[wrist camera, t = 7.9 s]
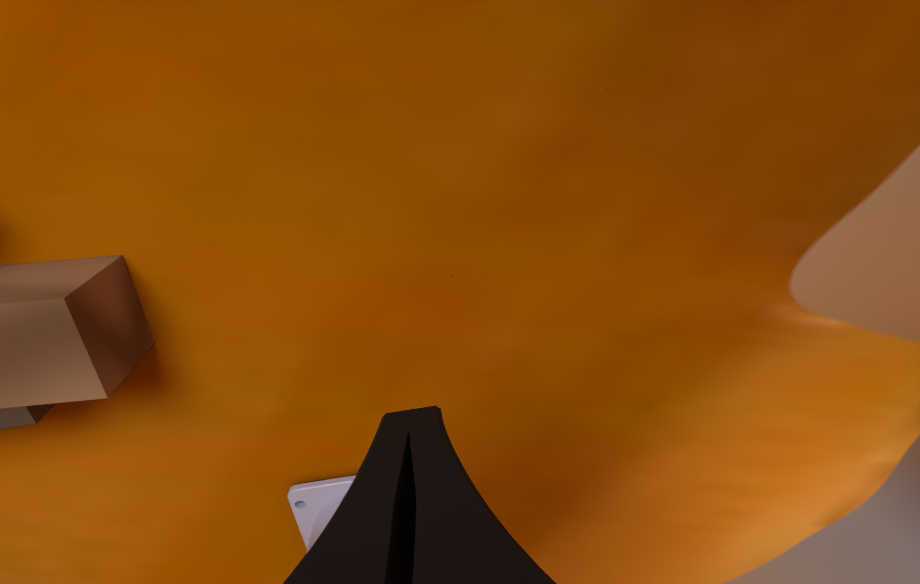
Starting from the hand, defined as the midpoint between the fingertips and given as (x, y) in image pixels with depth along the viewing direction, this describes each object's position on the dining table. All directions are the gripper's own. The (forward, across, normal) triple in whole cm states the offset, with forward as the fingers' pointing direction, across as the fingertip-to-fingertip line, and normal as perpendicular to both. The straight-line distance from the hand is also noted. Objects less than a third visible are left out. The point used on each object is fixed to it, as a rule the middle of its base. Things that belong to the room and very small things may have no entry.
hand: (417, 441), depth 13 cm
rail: (+10, +16, -1) cm, 19 cm away
